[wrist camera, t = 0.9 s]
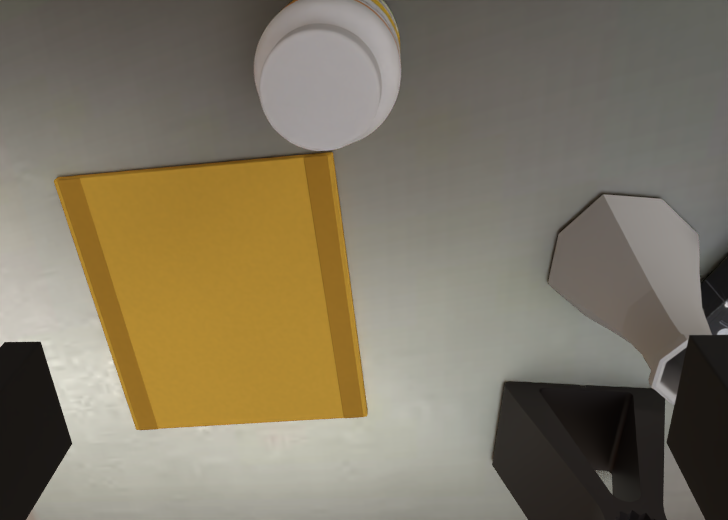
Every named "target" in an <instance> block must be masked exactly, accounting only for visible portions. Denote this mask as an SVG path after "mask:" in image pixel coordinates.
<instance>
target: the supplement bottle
mask: <svg viewBox="0 0 728 520" xmlns="http://www.w3.org/2000/svg"><path fill="white" fill-rule="evenodd" d="M254 78H255V84H256V88H257V92H258V95H259V97H260V101H261V105H262V108H263V111H264V113H265V115H266V117H267V119H268V121H269V122H270V124H271V125H272V127H273V128H274V129H275V130H276V131H277V132H278V133H279V134H280V135H281V136H282V137H283V138H285V139H286V140H288V141H289V142H291V143H292V144H294V145H297V146H299V147H301V148H305V149H309V150H314V151H330V150H335V149H339V148H342V147H344V146H346V145H349V144H351V143H354V142H356V141H359V140H361V139H363V138H365V137H366V136H368V135H369V134H371V133H372V132H374V131H375V130H376V129H377V128H378V127H379V126H380V125H381V124H382V123H383V122H384V120H385V119H386V118H387V116H388V115H389V113H390V112H391V110H392V108H393V106H394V104H395V102H396V99H397V96H398V92H399V88H400V82H401V55H400V37H399V31H398V28H397V24H396V21H395V19H394V16H393V14H392V12H391V11H390V9H389V7H388V6H387V4H386V3H385V2H384V1H383V0H293V1H292V2H291V3H289V4H288V5H287V6H286V7H285V8H283V9H282V10H281V11H280V12H279V13H278V14H277V15H276V16H275V17H274V18H273V19H272V20H271V22H270V23H269V24H268V26H267V27H266V29H265V30H264V32H263V34H262V36H261V38H260V40H259V43H258V46H257V49H256V53H255V59H254Z"/></svg>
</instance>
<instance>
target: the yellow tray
mask: <svg viewBox="0 0 728 520" xmlns="http://www.w3.org/2000/svg"><path fill="white" fill-rule="evenodd" d="M54 183H55V186H56V189H57V192H58V195H59V198H60V201H61V204H62V207H63V210H64V213H65V216H66V219H67V222H68V225H69V228H70V231H71V234H72V237H73V240H74V243H75V246H76V249H77V252H78V255H79V258H80V261H81V264H82V267H83V270H84V274H85V277H86V280H87V283H88V286H89V289H90V292H91V295H92V298H93V301H94V304H95V307H96V310H97V313H98V316H99V319H100V322H101V325H102V328H103V331H104V334H105V337H106V340H107V343H108V346H109V349H110V352H111V355H112V358H113V361H114V364H115V367H116V370H117V373H118V376H119V379H120V382H121V385H122V388H123V391H124V394H125V397H126V400H127V403H128V406H129V409H130V412H131V415H132V418H133V421H134V424H135V427H136V430H150V429H160V428H177V427H194V426H211V425H228V424H245V423H262V422H279V421H297V420H314V419H331V418H355V417H365V416H367V404H366V396H365V389H364V381H363V374H362V366H361V359H360V351H359V344H358V337H357V329H356V322H355V314H354V307H353V299H352V292H351V285H350V277H349V270H348V262H347V255H346V247H345V240H344V232H343V225H342V218H341V210H340V203H339V195H338V188H337V180H336V173H335V166H334V158H333V153H332V152H326V153H315V154H304V155H293V156H282V157H272V158H261V159H250V160H239V161H228V162H218V163H207V164H196V165H185V166H174V167H164V168H153V169H142V170H131V171H120V172H110V173H99V174H88V175H77V176H66V177H58V178H56V179H55V180H54Z"/></svg>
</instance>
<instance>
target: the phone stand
mask: <svg viewBox="0 0 728 520" xmlns="http://www.w3.org/2000/svg"><path fill="white" fill-rule="evenodd" d="M664 424H665V398H664V397H663V396H661V395H660V394H659V393H658V392H657V391H656V390H654V389H643V388H623V387H603V386H586V387H584V388H583V387H581V386H580V385H564V384H544V383H525V382H506V383H505V386H504V392H503V399H502V405H501V412H500V418H499V424H498V431H497V437H496V444H495V450H494V456H493V463H492V465H493V467H494V468H495V470H496V471H497V473H498V474H499V476H500V478H501V479H502V481H503V482H504V484H505V485H506V487H507V488H508V490H509V491H510V493H511V494H512V496H513V497H514V499H515V500H516V502H517V503H518V505H519V506H520V508H521V509H522V511H523V512H524V514H525V516H526V517H527V519H528V520H667V519H666V516H665V513H664V508H663V483H664ZM595 470H604V471H609V472H610V473H611V474H612V486H613V495H612V494H611V493H610V491H609V490H608V489H607V487H606V486H605V484H604V483H603V482H602V480H601V479H600V477H599V476H598V474H597V473H596V472H595Z"/></svg>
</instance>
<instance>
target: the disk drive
mask: <svg viewBox="0 0 728 520" xmlns="http://www.w3.org/2000/svg"><path fill="white" fill-rule="evenodd" d="M700 286H701V299H702V309H703V312H704V314H705V317H706V320H707V323H708V325H709V328H710V331H711V333H712V335H728V256H727V257H726V259H725V260H724V261H723V262H722V263H720V265H719V266H718V267H717V268H716V269H715V270H714V271H713V272H712V273H711V274H710V275H709V276H708V277H707V278H706V279H705V280H704V281H703V282H702V283H701V285H700Z"/></svg>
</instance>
